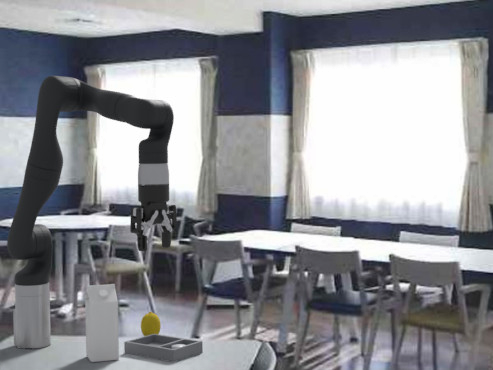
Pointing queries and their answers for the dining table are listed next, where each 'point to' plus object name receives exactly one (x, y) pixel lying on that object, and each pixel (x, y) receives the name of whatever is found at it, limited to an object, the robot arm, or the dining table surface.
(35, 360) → the dining table surface
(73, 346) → the dining table surface
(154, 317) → the lemon
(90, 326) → the milk carton
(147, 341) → the grey divided tray
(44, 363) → the dining table surface
